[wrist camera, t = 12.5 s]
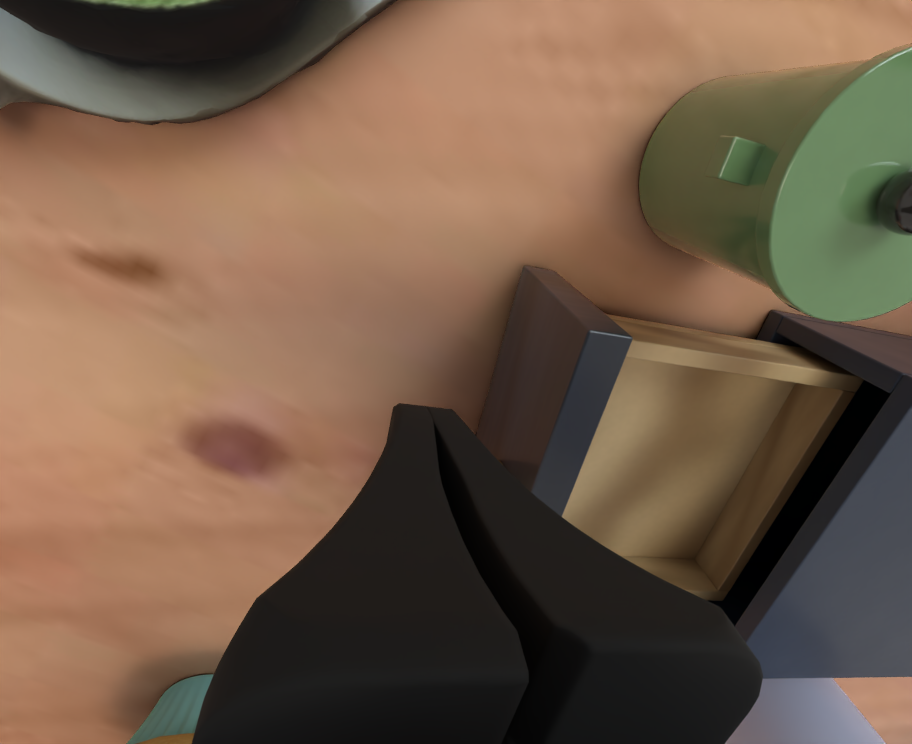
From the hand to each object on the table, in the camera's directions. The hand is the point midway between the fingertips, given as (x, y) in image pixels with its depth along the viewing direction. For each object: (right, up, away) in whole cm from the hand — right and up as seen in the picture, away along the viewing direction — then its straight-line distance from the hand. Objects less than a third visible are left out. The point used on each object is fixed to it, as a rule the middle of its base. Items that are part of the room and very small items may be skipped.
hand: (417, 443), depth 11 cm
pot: (+10, +8, +5) cm, 14 cm away
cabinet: (+17, -2, +12) cm, 21 cm away
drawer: (+7, -1, +9) cm, 12 cm away
